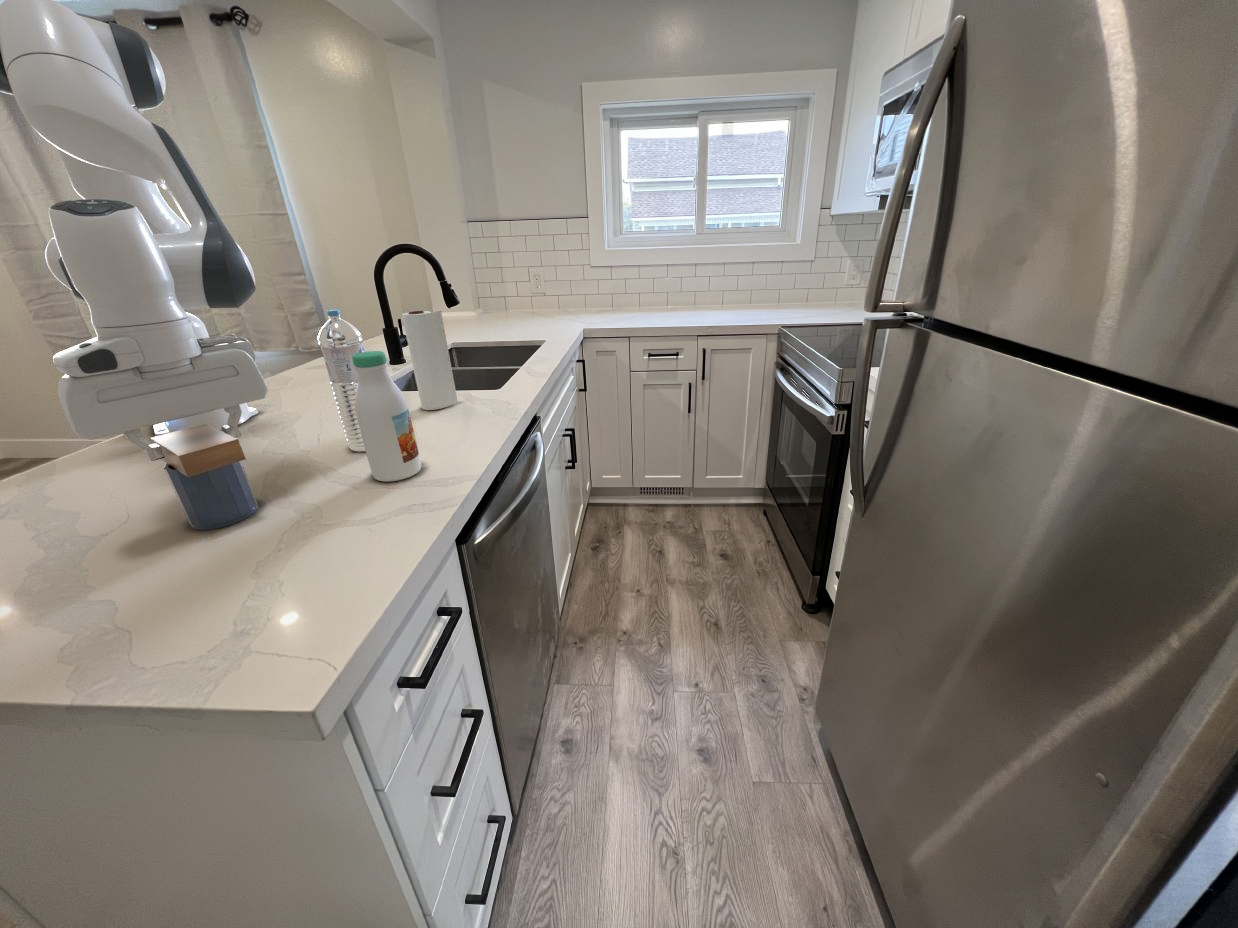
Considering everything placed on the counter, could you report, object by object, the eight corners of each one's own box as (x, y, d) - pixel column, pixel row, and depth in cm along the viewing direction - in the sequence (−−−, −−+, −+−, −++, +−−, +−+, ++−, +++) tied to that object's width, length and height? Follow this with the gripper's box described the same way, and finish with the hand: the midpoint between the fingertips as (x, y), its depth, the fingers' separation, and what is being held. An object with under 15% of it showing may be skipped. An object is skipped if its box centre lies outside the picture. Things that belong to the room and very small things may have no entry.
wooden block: (158, 457, 69) (149, 437, 68) (213, 442, 74) (205, 423, 73) (188, 477, 63) (178, 456, 62) (246, 459, 68) (238, 439, 66)
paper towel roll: (416, 410, 114) (395, 314, 105) (430, 402, 119) (410, 310, 110) (445, 411, 112) (426, 313, 103) (458, 403, 118) (441, 309, 109)
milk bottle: (392, 486, 78) (359, 361, 70) (363, 476, 82) (328, 356, 74) (431, 468, 84) (406, 350, 76) (403, 459, 88) (375, 346, 80)
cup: (182, 519, 71) (155, 462, 68) (245, 496, 77) (223, 443, 73) (202, 536, 67) (175, 476, 63) (267, 510, 73) (245, 454, 69)
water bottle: (373, 453, 91) (335, 313, 81) (341, 452, 92) (300, 313, 82) (395, 439, 97) (363, 307, 87) (365, 438, 99) (329, 307, 88)
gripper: (238, 330, 71) (270, 421, 77) (32, 360, 56) (91, 469, 62) (256, 333, 68) (288, 428, 74) (42, 365, 53) (104, 481, 59)
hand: (196, 447), depth 68 cm, fingers open, 7 cm apart
